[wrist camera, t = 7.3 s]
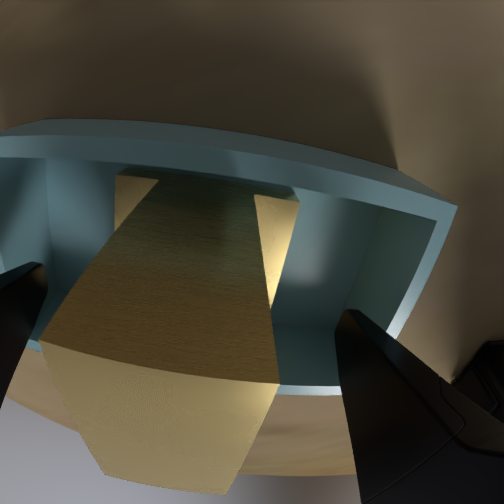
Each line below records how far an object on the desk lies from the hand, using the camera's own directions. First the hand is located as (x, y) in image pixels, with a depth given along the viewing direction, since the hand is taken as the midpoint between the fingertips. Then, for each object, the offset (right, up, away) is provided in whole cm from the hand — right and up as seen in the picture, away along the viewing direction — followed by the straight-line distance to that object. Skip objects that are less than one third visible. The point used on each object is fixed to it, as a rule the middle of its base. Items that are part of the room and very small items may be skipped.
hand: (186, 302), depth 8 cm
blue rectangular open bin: (0, +2, +4) cm, 4 cm away
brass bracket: (0, +2, +3) cm, 4 cm away
